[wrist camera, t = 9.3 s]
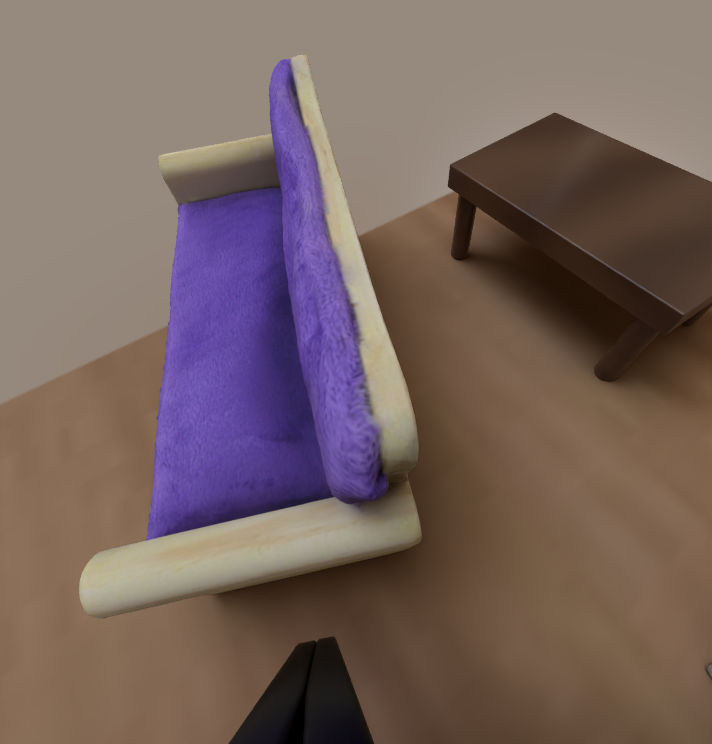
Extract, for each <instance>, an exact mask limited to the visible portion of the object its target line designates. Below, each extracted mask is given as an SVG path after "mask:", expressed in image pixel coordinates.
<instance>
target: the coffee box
mask: <svg viewBox="0 0 712 744" xmlns="http://www.w3.org/2000/svg"><path fill="white" fill-rule="evenodd" d="M707 669H708V672H709V674H710V676H711V677H712V664H710V665H708V668H707Z"/></svg>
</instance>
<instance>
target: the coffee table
mask: <svg viewBox="0 0 712 744" xmlns="http://www.w3.org/2000/svg"><path fill="white" fill-rule="evenodd" d="M448 187H449V188H450V189H452V190H453V191H455V192H456V193H458V194H459V197H458V204H457V212H456V219H455V227H454V235H453V242H452V250H451V255H452V256H453V257H454V258H456V259H464V258H465V257H467V255H468V251H469V246H470V240H471V235H472V229H473V224H474V218H475V213H476V207H478V208H479V209H481V210H482V211H484V212H485V213H487V214H488V215H489V216H491V217H492V218H494V219H495V220H497V221H498V222H500V223H501V224H502V225H504V226H505V227H507V228H508V229H510V230H511V231H513V232H514V233H515V234H517V235H518V236H520V237H521V238H523V239H524V240H526V241H527V242H528V243H530V244H531V245H533V246H534V247H536V248H537V249H539V250H540V251H541V252H543V253H544V254H546V255H547V256H549V257H550V258H552V259H553V260H554V261H556V262H557V263H559V264H560V265H562V266H563V267H565V268H566V269H567V270H569V271H570V272H572V273H573V274H575V275H576V276H578V277H579V278H580V279H582V280H583V281H585V282H586V283H588V284H589V285H591V286H592V287H593V288H595V289H596V290H598V291H599V292H601V293H602V294H604V295H605V296H606V297H608V298H609V299H611V300H612V301H614V302H615V303H617V304H618V305H619V306H621V307H622V308H624V309H625V310H627V311H628V312H630V313H631V314H633V315H634V316H635V318H634V320H633V321H632V322H631V323H630V325H629V326H628V327H627V328H626V330H625V331H624V332H623V333H622V334H621V336H620V337H619V338H618V339H617V341H616V342H615V343H614V344H613V346H612V347H611V348H610V349H609V350H608V352H607V353H606V354H605V355H604V357H603V358H602V359H601V360H600V362H599V363H598V364H597V365H596V367H595V374H596V375H597V376H598V377H599V378H600V379H602V380H604V381H613V380H615V379H617V377H618V376H619V375H620V374H621V373H622V372H623V371H624V370H625V369H626V368H627V367H628V366H629V365H630V364H631V363H632V362H633V361H634V360H635V359H636V358H637V356H638V355H639V354H640V353H641V352H642V351H643V350H644V349H645V348H646V347H647V346H648V345H649V344H650V343H651V342H652V341H653V340H654V339H655V338H656V336H657V335H658V334H659V333H660V334H661V335H663V336H664V335H667V334H668V333H669V332H671V331H672V330H674V329H675V328H677V327H678V326H679V325H685V326H688V325H692V324H694V323H695V322H696V321H697V320H698V319H699V318H700V317H701V316H702V315H703V314H704V313H705V312H706V311H707V310H708V309H709V308H710V307H711V306H712V182H710V181H708V180H706V179H703V178H701V177H699V176H697V175H694V174H692V173H690V172H688V171H685V170H683V169H681V168H679V167H676V166H674V165H672V164H670V163H667V162H665V161H663V160H661V159H658V158H656V157H654V156H652V155H649V154H647V153H645V152H643V151H640V150H638V149H636V148H634V147H631V146H629V145H627V144H624V143H622V142H620V141H618V140H615V139H613V138H611V137H609V136H607V135H604V134H602V133H600V132H598V131H595V130H593V129H591V128H588V127H586V126H584V125H582V124H580V123H577V122H575V121H573V120H571V119H568V118H566V117H564V116H562V115H559V114H557V113H553V114H551V115H549V116H547V117H545V118H543V119H541V120H539V121H537V122H535V123H533V124H531V125H529V126H527V127H525V128H523V129H521V130H519V131H517V132H515V133H513V134H511V135H509V136H507V137H505V138H503V139H500V140H498V141H497V142H495V143H492V144H490V145H488V146H486V147H484V148H482V149H480V150H478V151H476V152H474V153H472V154H470V155H468V156H466V157H464V158H462V159H460V160H458V161H456V162H454V163H452V164H451V165H450V171H449V180H448Z"/></svg>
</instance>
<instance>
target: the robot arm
mask: <svg viewBox="0 0 712 744" xmlns="http://www.w3.org/2000/svg"><path fill="white" fill-rule="evenodd" d="M229 744H374V742H373V739H372V736H371V734H370V731H369V728H368V725H367V723H366V720H365V717H364V714H363V712H362V709H361V706H360V703H359V701H358V698H357V695H356V693H355V690H354V687H353V684H352V682H351V679H350V676H349V673H348V671H347V668H346V665H345V662H344V660H343V657H342V654H341V651H340V649H339V646H338V643H337V640H336V638H335V637H328V638H323V639H319V640H318V641H317V642H316V641H309V642H304V643H300V644H298V645H297V646H296V647H295V649H294V650H293V652H292V653H291V655H290V656H289V657H288V659H287V660H286V662H285V663H284V665H283V666H282V668H281V669H280V670H279V672H278V673H277V675H276V676H275V678H274V679H273V680H272V682H271V683H270V685H269V686H268V688H267V689H266V691H265V692H264V693H263V695H262V696H261V698H260V699H259V701H258V702H257V704H256V705H255V706H254V708H253V709H252V711H251V712H250V714H249V715H248V716H247V718H246V719H245V721H244V722H243V724H242V725H241V727H240V728H239V729H238V731H237V732H236V734H235V735H234V737H233V738H232V739H231V741H230V742H229Z"/></svg>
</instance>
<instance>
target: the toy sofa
mask: <svg viewBox="0 0 712 744" xmlns="http://www.w3.org/2000/svg"><path fill="white" fill-rule="evenodd" d="M269 98H270V121H271V131H272V134H269V135H263V136H257V137H252V138H247V139H242V140H237V141H231V142H226V143H221V144H216V145H211V146H206V147H201V148H195V149H190V150H184V151H179V152H174V153H168V154H163V155H160V156H159V160H158V161H159V167H160V171H161V173H162V176H163V178H164V180H165V182H166V184H167V185H168V187H169V189H170V191H171V193H172V195H173V196H174V198H175V200H176V202H177V204H178V214H179V217H178V230H177V240H176V247H175V255H174V262H173V271H172V279H171V294H170V306H171V309H170V320H169V323H168V325H169V328H168V339H167V342H166V356H165V364H164V375H163V380H162V387H161V389H160V393H161V394H160V405H159V413H158V416H157V420H158V427H157V434H156V443H155V461H154V475H153V477H154V479H153V494H152V501H151V510H150V515H149V524H148V534H147V539H146V541H143V542H139V543H134V544H130V545H126V546H122V547H117V548H113V549H108V550H104V551H101V552H99V553H98V554H96V555H94V556H93V557H92V558H91V560H90V561H89V562H88V564H87V565H86V567H85V569H84V570H83V573H82V576H81V579H80V583H79V595H80V601H81V604H82V606H83V608H84V610H85V612H86V613H88V614H89V615H90V616H92V617H95V618H107V617H111V616H115V615H119V614H124V613H128V612H132V611H136V610H141V609H145V608H149V607H153V606H158V605H162V604H166V603H170V602H175V601H179V600H183V599H187V598H192V597H196V596H200V595H212V594H217V593H221V592H226V591H230V590H235V589H239V588H244V587H248V586H253V585H257V584H262V583H266V582H270V581H275V580H279V579H284V578H288V577H293V576H297V575H301V574H306V573H310V572H314V571H319V570H323V569H327V568H331V567H336V566H340V565H344V564H349V563H353V562H357V561H362V560H366V559H370V558H375V557H379V556H383V555H387V554H391V553H395V552H399V551H403V550H406V549H409V548H411V547H412V546H414V545H416V544H418V543H420V542H421V539H422V533H421V525H420V521H419V516H418V512H417V507H416V504H415V500H414V497H413V493H412V490H411V487H410V484H409V479H408V472H409V471H411V470H413V469H414V468H415V467H416V465H417V461H418V454H419V442H418V434H417V426H416V418H415V414H414V410H413V407H412V403H411V399H410V396H409V392H408V388H407V385H406V381H405V378H404V375H403V373H402V370H401V367H400V364H399V361H398V358H397V356H396V353H395V350H394V347H393V344H392V342H391V339H390V336H389V333H388V330H387V328H386V325H385V322H384V319H383V316H382V314H381V311H380V308H379V305H378V301H377V298H376V295H375V291H374V288H373V285H372V281H371V278H370V275H369V271H368V268H367V265H366V261H365V258H364V255H363V251H362V248H361V245H360V241H359V238H358V235H357V231H356V228H355V224H354V221H353V218H352V214H351V211H350V208H349V205H348V202H347V199H346V195H345V191H344V187H343V184H342V181H341V177H340V174H339V170H338V167H337V163H336V160H335V157H334V154H333V151H332V147H331V144H330V141H329V138H328V134H327V131H326V127H325V124H324V120H323V117H322V113H321V109H320V106H319V102H318V98H317V94H316V90H315V85H314V81H313V77H312V73H311V68H310V64H309V61H308V58H307V56H306V55H299V56H295V57H293V58H292V59H291V60H290V59H285V60H281V61H280V62H279V63H278V64H277V65H276V67H275V68H274V70H273V73H272V76H271V82H270V86H269Z"/></svg>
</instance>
